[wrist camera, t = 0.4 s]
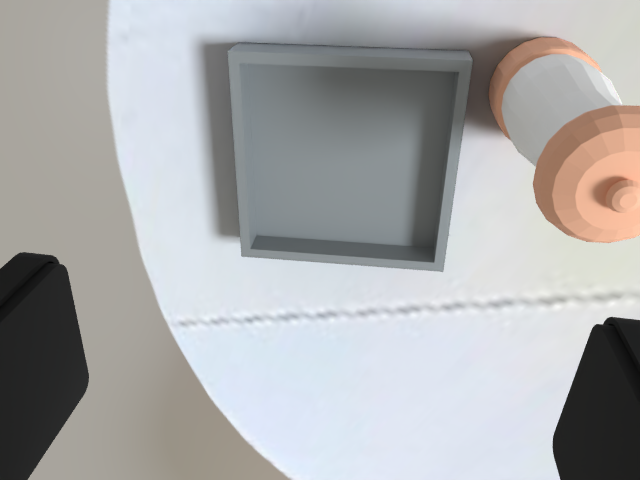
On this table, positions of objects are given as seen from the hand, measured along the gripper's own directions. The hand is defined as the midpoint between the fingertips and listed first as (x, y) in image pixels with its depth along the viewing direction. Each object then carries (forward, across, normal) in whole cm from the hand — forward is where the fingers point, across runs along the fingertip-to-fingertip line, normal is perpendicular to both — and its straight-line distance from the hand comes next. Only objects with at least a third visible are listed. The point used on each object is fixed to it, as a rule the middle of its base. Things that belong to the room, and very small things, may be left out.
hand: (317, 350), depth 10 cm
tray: (+36, +2, +10) cm, 37 cm away
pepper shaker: (+36, -12, +4) cm, 38 cm away
